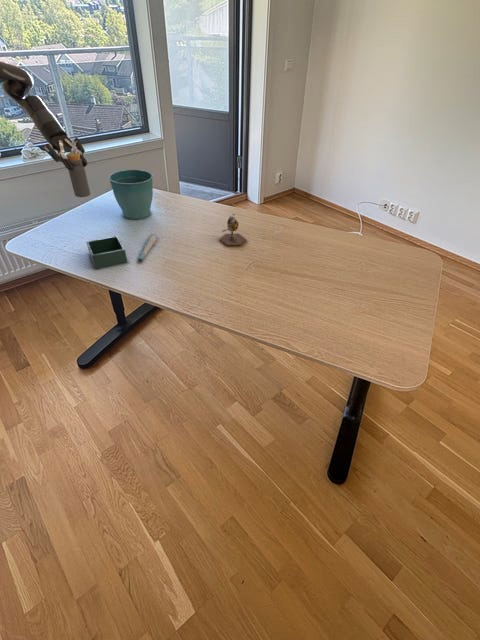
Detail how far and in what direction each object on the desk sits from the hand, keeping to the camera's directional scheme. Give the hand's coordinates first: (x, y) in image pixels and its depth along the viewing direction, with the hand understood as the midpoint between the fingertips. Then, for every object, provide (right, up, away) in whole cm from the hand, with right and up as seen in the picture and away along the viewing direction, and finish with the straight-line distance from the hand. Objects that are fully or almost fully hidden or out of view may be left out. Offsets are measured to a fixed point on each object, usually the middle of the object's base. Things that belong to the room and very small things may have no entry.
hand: (79, 167), depth 130 cm
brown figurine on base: (+58, -25, +13) cm, 64 cm away
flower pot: (+13, -9, +28) cm, 33 cm away
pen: (+25, -30, +5) cm, 40 cm away
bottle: (-2, -8, +8) cm, 11 cm away
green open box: (+12, -35, -1) cm, 37 cm away
